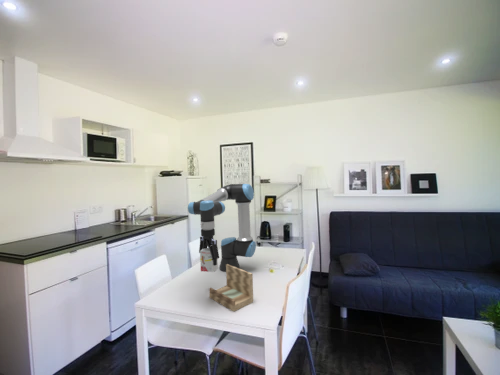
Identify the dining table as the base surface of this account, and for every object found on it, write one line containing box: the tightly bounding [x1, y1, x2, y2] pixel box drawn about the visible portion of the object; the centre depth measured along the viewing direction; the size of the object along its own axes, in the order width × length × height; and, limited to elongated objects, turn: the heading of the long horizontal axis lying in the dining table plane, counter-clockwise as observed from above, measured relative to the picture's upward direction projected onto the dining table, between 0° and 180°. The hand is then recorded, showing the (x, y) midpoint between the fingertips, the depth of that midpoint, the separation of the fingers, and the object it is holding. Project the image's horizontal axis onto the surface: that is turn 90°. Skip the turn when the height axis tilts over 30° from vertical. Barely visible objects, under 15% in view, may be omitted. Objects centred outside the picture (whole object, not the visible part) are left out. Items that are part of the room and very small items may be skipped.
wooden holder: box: [208, 264, 254, 312], centre depth 141 cm, size 22×14×16 cm, turn 43°
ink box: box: [199, 247, 219, 273], centre depth 138 cm, size 9×5×12 cm, turn 78°
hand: (209, 268), depth 138 cm, fingers closed on ink box, 9 cm apart
